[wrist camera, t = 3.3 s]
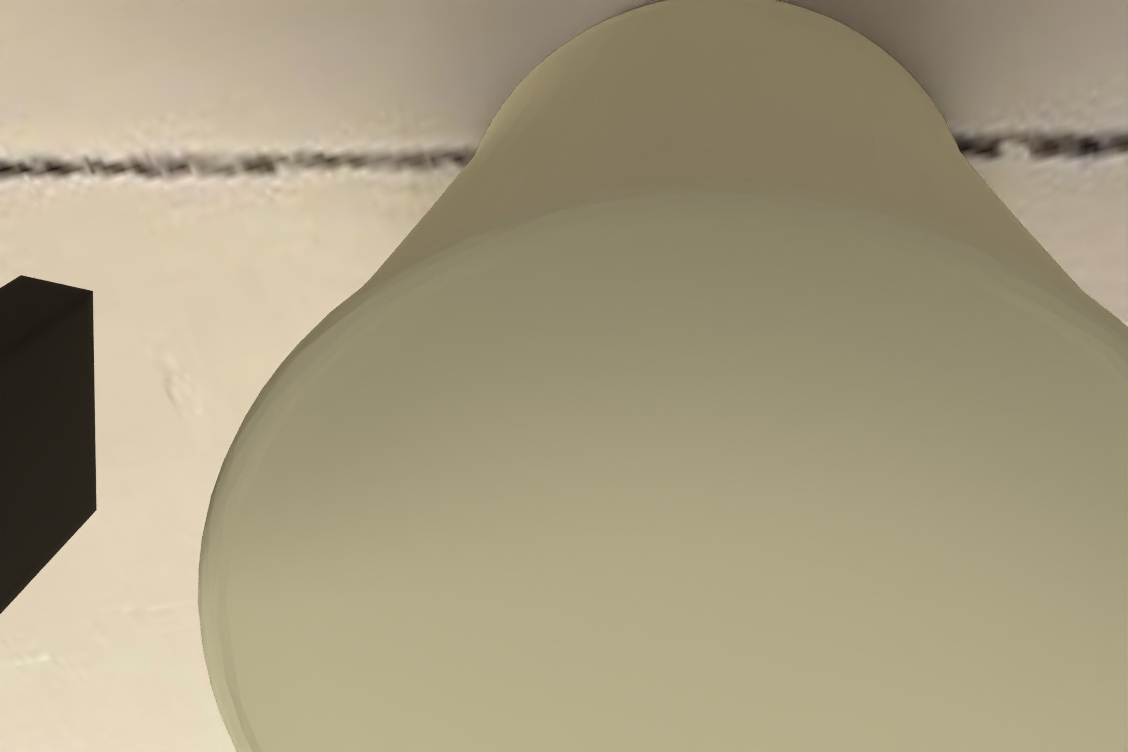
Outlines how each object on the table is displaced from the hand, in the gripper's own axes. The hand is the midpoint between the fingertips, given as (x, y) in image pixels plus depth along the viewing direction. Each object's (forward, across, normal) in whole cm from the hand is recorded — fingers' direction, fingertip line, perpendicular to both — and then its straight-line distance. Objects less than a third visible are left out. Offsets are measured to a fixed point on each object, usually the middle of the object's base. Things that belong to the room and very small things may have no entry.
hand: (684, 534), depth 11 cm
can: (+9, 0, 0) cm, 9 cm away
